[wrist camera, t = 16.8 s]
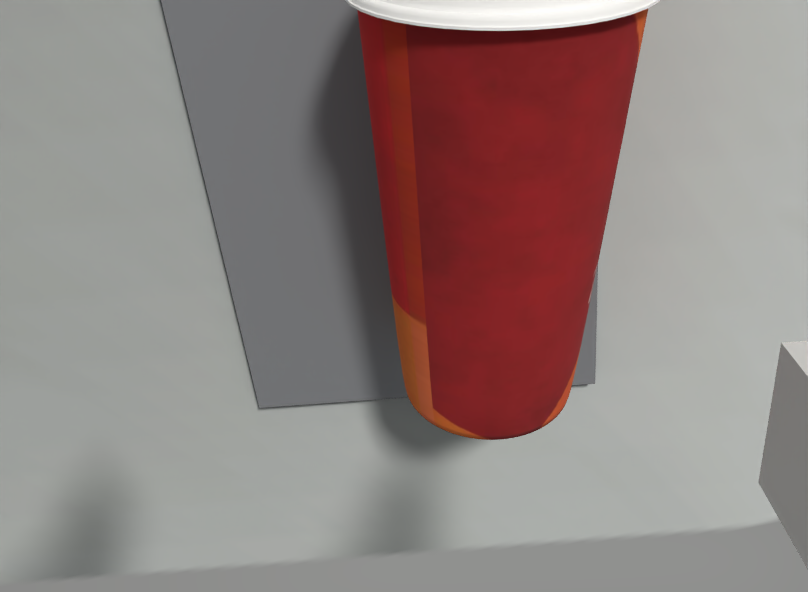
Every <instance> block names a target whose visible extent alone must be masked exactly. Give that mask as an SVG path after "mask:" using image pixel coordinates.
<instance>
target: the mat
mask: <svg viewBox="0 0 808 592" xmlns="http://www.w3.org/2000/svg"><path fill="white" fill-rule="evenodd" d="M161 3H162V7H163V11H164V15H165V19H166V24H167V28H168V32H169V36H170V40H171V44H172V48H173V53H174V57H175V61H176V65H177V69H178V73H179V77H180V81H181V86H182V90H183V94H184V98H185V102H186V106H187V110H188V115H189V119H190V123H191V127H192V131H193V135H194V139H195V144H196V148H197V152H198V156H199V160H200V164H201V168H202V173H203V177H204V181H205V185H206V189H207V193H208V197H209V202H210V206H211V210H212V214H213V218H214V222H215V226H216V230H217V235H218V239H219V243H220V247H221V251H222V255H223V259H224V264H225V268H226V272H227V276H228V280H229V284H230V288H231V293H232V297H233V301H234V305H235V309H236V313H237V317H238V322H239V326H240V330H241V334H242V338H243V342H244V346H245V351H246V355H247V359H248V363H249V367H250V371H251V375H252V380H253V384H254V388H255V392H256V396H257V400H258V404H259V408H266V407H280V406H293V405H307V404H321V403H335V402H348V401H362V400H376V399H390V398H404V397H408V395H407V391H406V388H405V383H404V378H403V373H402V366H401V360H400V353H399V346H398V339H397V331H396V323H395V316H394V308H393V300H392V292H391V284H390V276H389V268H388V260H387V252H386V244H385V235H384V227H383V219H382V211H381V202H380V194H379V186H378V177H377V169H376V161H375V152H374V144H373V135H372V127H371V119H370V110H369V102H368V94H367V85H366V77H365V69H364V60H363V52H362V44H361V35H360V27H359V19H358V10H357V9H355V8H353V7H351V6H350V5H349V4H348V3H347V2H346V1H345V0H161ZM597 276H598V264H597V269H596V274H595V279H594V284H593V289H592V294H591V299H590V304H589V309H588V314H587V319H586V323H585V328H584V333H583V338H582V343H581V348H580V352H579V357H578V361H577V365H576V370H575V374H574V379H573V382H572V385H583V384H595V367H596V321H597Z"/></svg>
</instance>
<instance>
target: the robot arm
mask: <svg viewBox="0 0 808 592" xmlns="http://www.w3.org/2000/svg"><path fill="white" fill-rule="evenodd" d="M759 484H760V486H761V488H762V489H763V491H764V493H765V495H766V497H767V498H768V500H769V502H770V504H771V505H772V507H773V509H774V511H775V512H776V514H777V516H778V518H779V519H780V521H781V523H782V525H783V526H784V528H785V530H786V532H787V533H788V535H789V537H790V539H791V540H792V542H793V544H794V546H795V547H796V549H797V551H798V553H799V555H800V556H801V558H802V560H803V562H804V563H805V565H806V567H807V568H808V341H798V342H785V343H781V348H780V354H779V360H778V366H777V372H776V378H775V384H774V391H773V397H772V403H771V409H770V415H769V421H768V427H767V433H766V439H765V446H764V452H763V458H762V464H761V470H760V476H759Z"/></svg>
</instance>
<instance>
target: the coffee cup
mask: <svg viewBox="0 0 808 592" xmlns="http://www.w3.org/2000/svg"><path fill="white" fill-rule="evenodd" d="M345 1H346V2H347V3H348V4H349V5H350V6H351V7H353V8H355V9H357V10H358V19H359V27H360V35H361V44H362V52H363V60H364V69H365V77H366V85H367V94H368V102H369V110H370V119H371V127H372V135H373V144H374V152H375V161H376V169H377V177H378V186H379V194H380V202H381V211H382V219H383V227H384V235H385V244H386V252H387V260H388V268H389V276H390V284H391V292H392V300H393V308H394V316H395V323H396V331H397V339H398V346H399V353H400V360H401V366H402V373H403V378H404V383H405V388H406V391H407V395H408V397H409V400H410V401H411V403H412V405H413V406H414V408H415V409H416V410H417V411H418V412H419V413H420V414H421V415H422V416H423V417H424V418H425V419H426V420H428V421H429V422H430V423H432V424H434V425H435V426H437V427H439V428H441V429H443V430H445V431H448V432H450V433H453V434H456V435H460V436H464V437H469V438H475V439H486V440H496V439H508V438H514V437H518V436H522V435H526V434H529V433H531V432H534V431H536V430H538V429H540V428H542V427H544V426H545V425H547V424H548V423H550V422H551V421H552V420H553V419H555V418H556V417H557V416H558V414H559V413H560V412H561V411H562V409H563V408H564V406H565V404H566V402H567V399H568V397H569V393H570V390H571V386H572V382H573V379H574V374H575V370H576V365H577V361H578V357H579V352H580V348H581V343H582V338H583V333H584V328H585V323H586V319H587V314H588V309H589V304H590V299H591V294H592V289H593V284H594V279H595V274H596V269H597V264H598V259H599V254H600V249H601V244H602V240H603V235H604V230H605V225H606V220H607V214H608V209H609V204H610V199H611V194H612V189H613V184H614V179H615V174H616V169H617V164H618V159H619V154H620V149H621V144H622V139H623V134H624V129H625V124H626V119H627V113H628V108H629V103H630V98H631V93H632V88H633V83H634V78H635V73H636V68H637V62H638V57H639V52H640V47H641V42H642V37H643V32H644V27H645V22H646V17H647V12H648V8H649V7H651V6H653V5H654V4H656V3H658V2H659V1H660V0H345Z"/></svg>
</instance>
